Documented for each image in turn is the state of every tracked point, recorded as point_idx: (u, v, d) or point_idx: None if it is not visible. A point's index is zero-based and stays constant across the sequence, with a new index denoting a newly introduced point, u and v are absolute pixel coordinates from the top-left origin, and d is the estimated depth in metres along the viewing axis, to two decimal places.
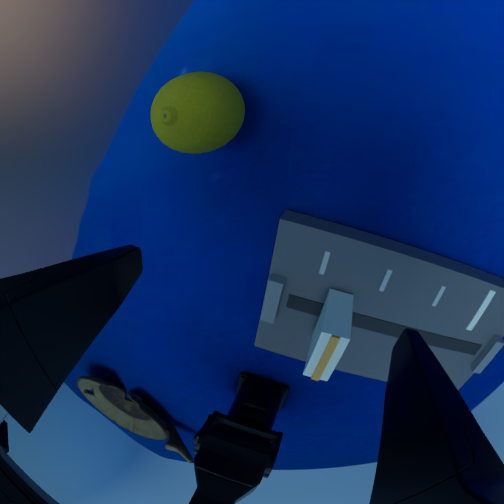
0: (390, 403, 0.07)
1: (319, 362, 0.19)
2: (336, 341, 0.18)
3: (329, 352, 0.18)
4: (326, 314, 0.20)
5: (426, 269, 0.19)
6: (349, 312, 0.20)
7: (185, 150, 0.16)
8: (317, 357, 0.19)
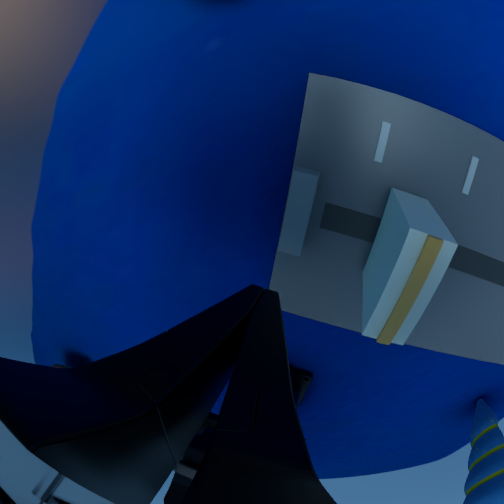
0: None
1: (398, 303, 0.10)
2: (436, 248, 0.08)
3: (421, 276, 0.09)
4: (404, 209, 0.10)
5: None
6: (434, 213, 0.10)
7: None
8: (395, 292, 0.10)
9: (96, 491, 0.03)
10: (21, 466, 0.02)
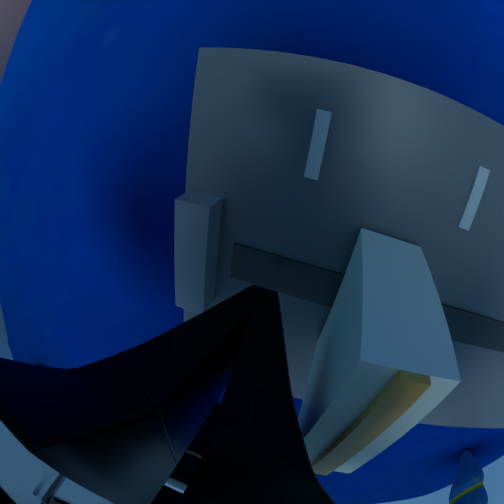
0: None
1: (336, 446, 0.05)
2: (413, 394, 0.04)
3: (376, 426, 0.04)
4: (367, 292, 0.05)
5: None
6: (428, 286, 0.06)
7: None
8: (331, 433, 0.05)
9: (97, 492, 0.03)
10: (22, 467, 0.02)
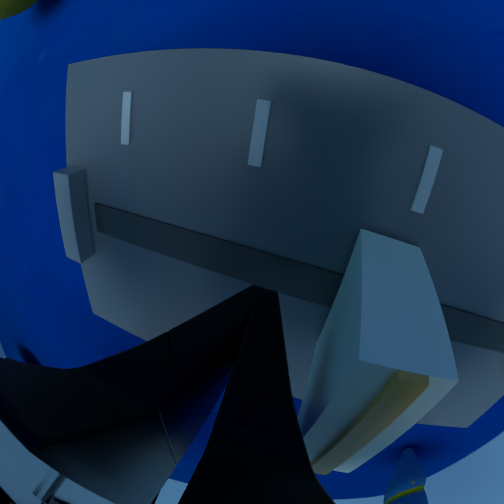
0: None
1: (335, 445, 0.05)
2: (412, 394, 0.04)
3: (375, 425, 0.04)
4: (366, 292, 0.05)
5: (371, 92, 0.06)
6: (427, 286, 0.06)
7: None
8: (331, 433, 0.05)
9: (97, 492, 0.03)
10: (22, 467, 0.02)
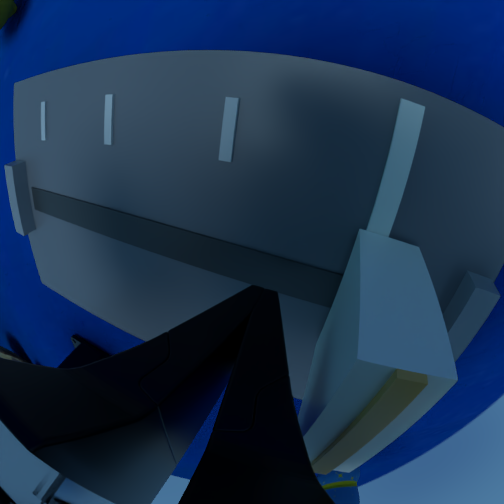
0: None
1: (334, 445, 0.05)
2: (411, 393, 0.04)
3: (374, 425, 0.04)
4: (364, 292, 0.05)
5: (174, 68, 0.08)
6: (426, 285, 0.06)
7: None
8: (330, 432, 0.05)
9: (97, 492, 0.03)
10: (22, 467, 0.02)
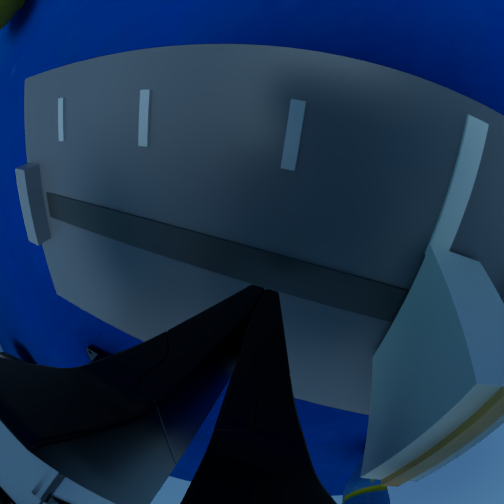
0: None
1: (422, 459, 0.04)
2: None
3: (467, 437, 0.04)
4: (461, 315, 0.05)
5: (228, 63, 0.07)
6: (498, 303, 0.05)
7: None
8: (421, 449, 0.04)
9: (96, 491, 0.03)
10: (21, 466, 0.02)
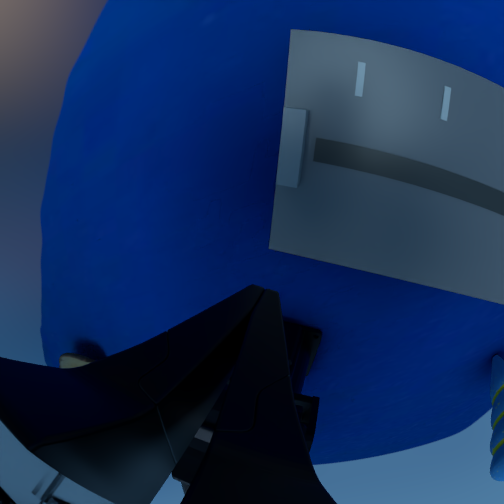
0: None
1: None
2: None
3: None
4: None
5: (489, 90, 0.10)
6: None
7: None
8: None
9: (96, 491, 0.03)
10: (21, 466, 0.02)
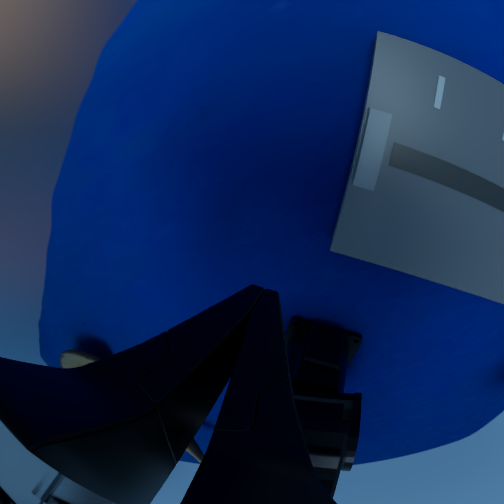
0: None
1: None
2: None
3: None
4: None
5: None
6: None
7: None
8: None
9: (96, 491, 0.03)
10: (21, 466, 0.02)
